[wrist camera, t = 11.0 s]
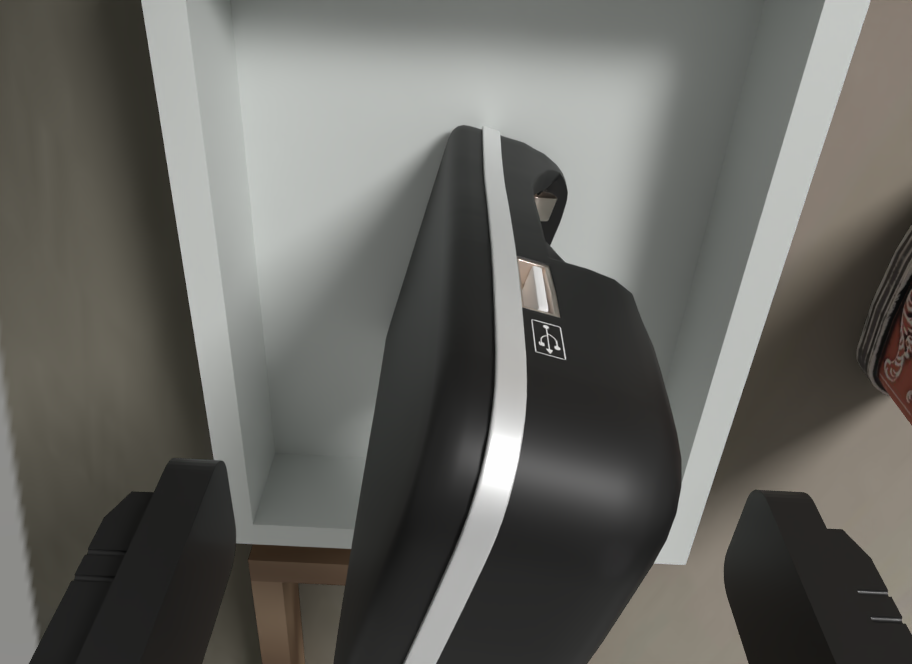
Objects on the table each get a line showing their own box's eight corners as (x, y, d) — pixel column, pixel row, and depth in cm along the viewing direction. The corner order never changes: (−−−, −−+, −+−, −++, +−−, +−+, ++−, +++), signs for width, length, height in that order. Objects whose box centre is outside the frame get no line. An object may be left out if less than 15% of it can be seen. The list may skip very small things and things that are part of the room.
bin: (187, -123, 16) (123, -112, 13) (813, -83, 16) (891, -63, 13) (255, 457, 25) (227, 543, 22) (659, 477, 25) (685, 564, 22)
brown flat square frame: (262, 512, 26) (248, 560, 24) (586, 528, 26) (594, 576, 24) (284, 699, 32) (274, 747, 30) (547, 711, 32) (552, 759, 30)
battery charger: (511, 378, 22) (544, 803, 12) (382, 344, 21) (312, 763, 12) (609, 153, 18) (765, 511, 9) (456, 105, 18) (443, 432, 8)
